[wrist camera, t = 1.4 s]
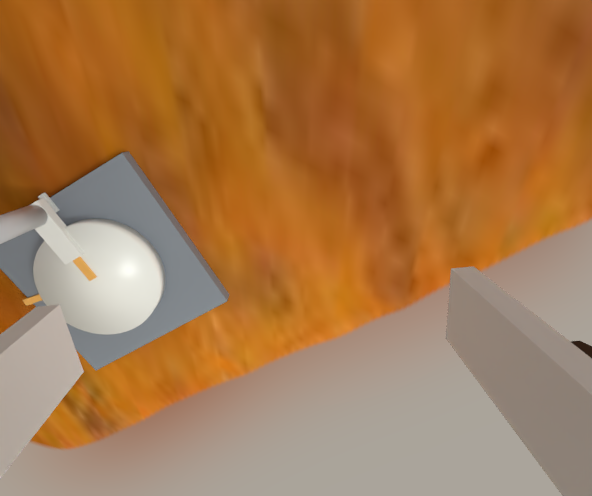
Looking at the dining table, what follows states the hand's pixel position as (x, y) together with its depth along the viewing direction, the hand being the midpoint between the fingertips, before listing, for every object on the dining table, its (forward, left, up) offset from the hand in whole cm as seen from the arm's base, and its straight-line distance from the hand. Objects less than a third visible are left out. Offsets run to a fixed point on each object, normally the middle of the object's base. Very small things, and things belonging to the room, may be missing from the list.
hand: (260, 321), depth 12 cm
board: (-1, -20, -26) cm, 32 cm away
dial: (-2, -20, -24) cm, 31 cm away
